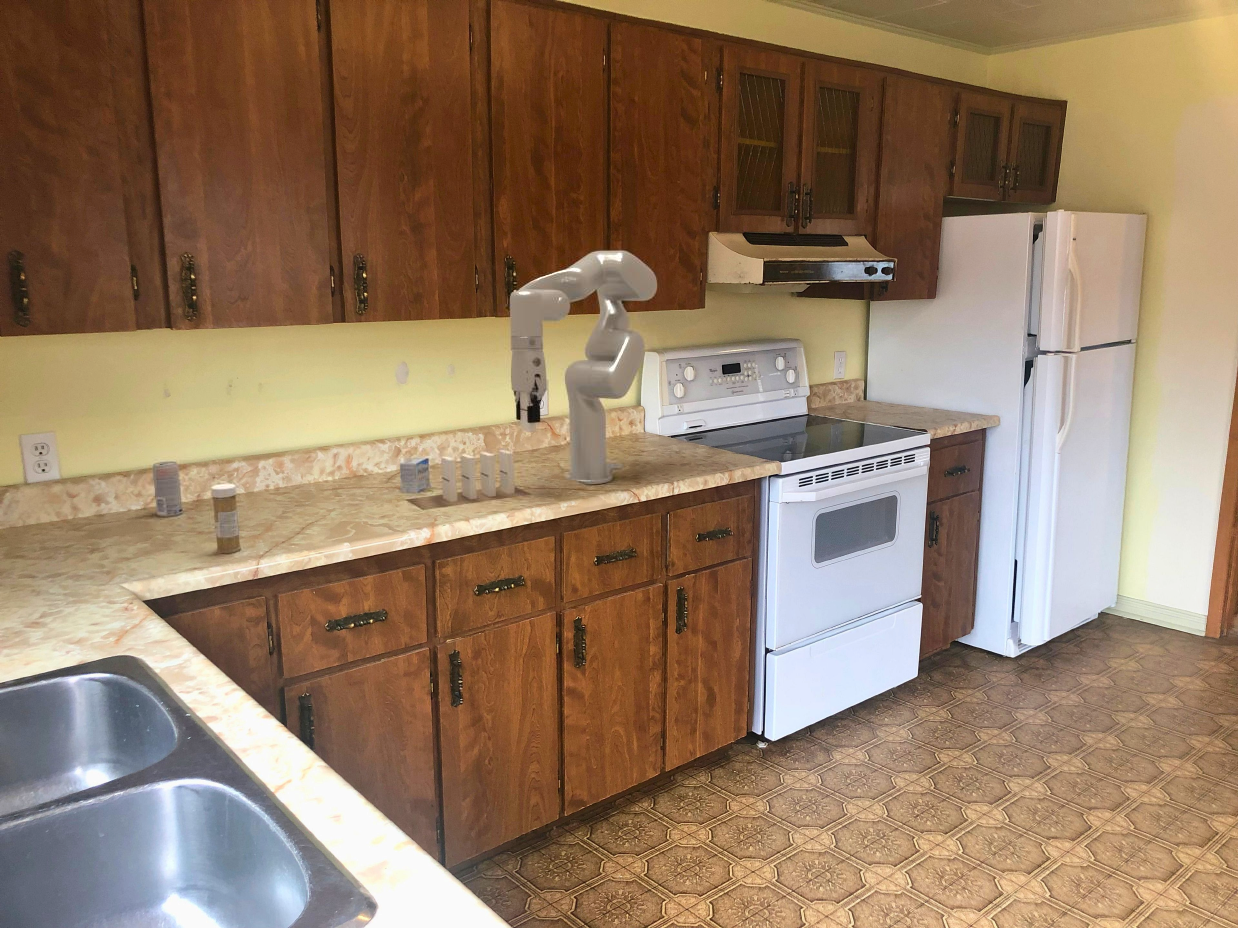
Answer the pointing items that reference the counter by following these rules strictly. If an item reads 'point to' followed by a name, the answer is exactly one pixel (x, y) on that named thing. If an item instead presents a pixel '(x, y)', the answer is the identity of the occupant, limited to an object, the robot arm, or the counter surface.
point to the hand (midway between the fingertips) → (528, 420)
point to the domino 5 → (525, 413)
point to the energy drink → (167, 489)
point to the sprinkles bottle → (226, 518)
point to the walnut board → (462, 499)
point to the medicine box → (415, 475)
